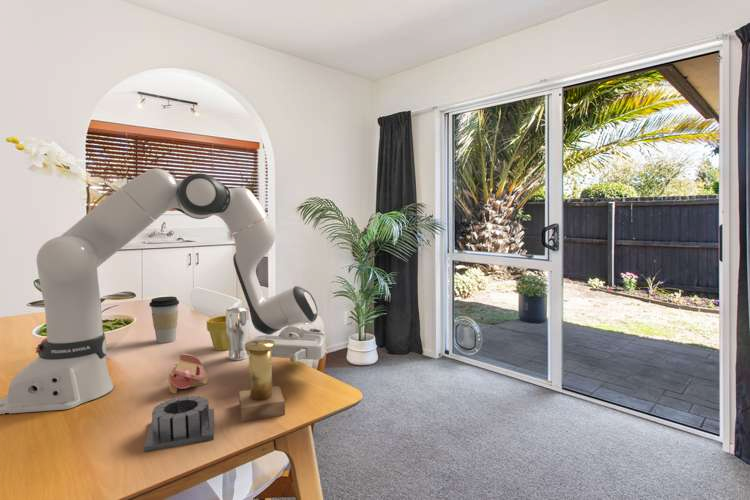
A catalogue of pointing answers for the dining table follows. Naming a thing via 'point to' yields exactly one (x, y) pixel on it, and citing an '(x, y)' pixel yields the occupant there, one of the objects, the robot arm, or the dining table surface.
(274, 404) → the stand
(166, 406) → the hub
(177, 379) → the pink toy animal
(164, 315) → the coffee cup
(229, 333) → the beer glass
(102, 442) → the dining table surface
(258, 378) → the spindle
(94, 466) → the dining table surface
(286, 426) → the dining table surface
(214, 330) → the plant pot
